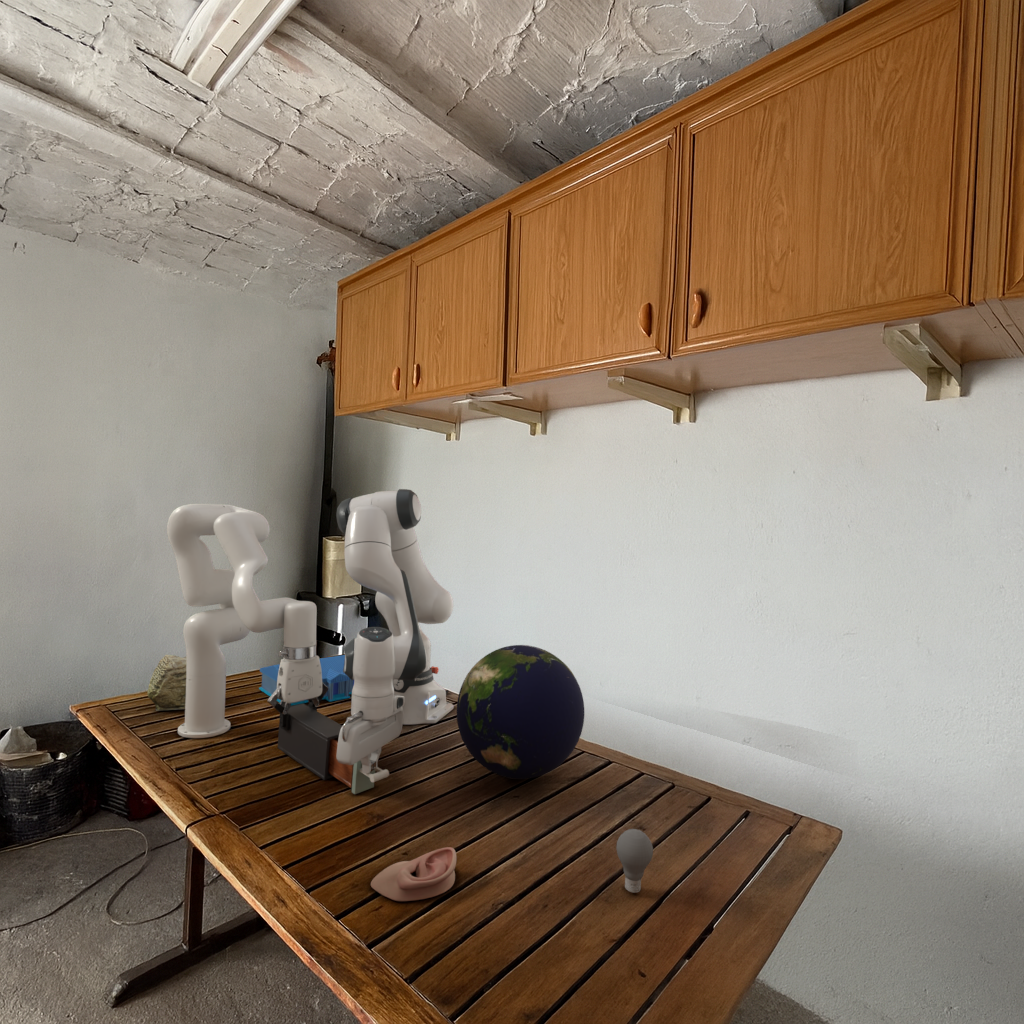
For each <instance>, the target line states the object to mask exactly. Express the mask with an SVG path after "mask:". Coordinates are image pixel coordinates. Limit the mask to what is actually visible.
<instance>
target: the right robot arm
mask: <svg viewBox="0 0 1024 1024" xmlns="http://www.w3.org/2000/svg"><path fill="white" fill-rule="evenodd" d="M421 519H422V504H421V502H420V499H419V497H418V495H417V493H415V491H413V490H412V489H407V488H399V489H398V490H381V491H375V492H373V493H367V494H363V495H359V496H356V497H354V496H352V497H348V498H346V499H344V500H342V501H341V502H340V503H339V504H338V506H337V508H336V522H337V526H338V529H339V531H340V532H341V533H342V534H343V535H344V564H345V565H344V566H345V570H346V573H347V575H348V576H349V577H350V578H351V579H352V580H353V581H354V582H356V583H357V584H359V585H361V586H362V587H365V588H367V589H370V590H372V591H375V592H376V593H375V599H374V601H375V602H374V603H375V608H376V609H377V611H378V612H379V613H380V614H381V615H382V617H383V619H384V621H385V622H386V625H387V627H388V629H387V628H385V627H381V626H369V627H364V628H362V629H360V630H359V631H358V632H357V634H356V637H354V638H352V639H351V640H350V641H349V642H347V644H346V645H344V647H343V651H344V655H345V661H344V668H343V672H344V673H345V674H346V675H347V676H348V677H349V678H350V679H352V680H354V686H353V689H352V694H351V701H350V703H351V705H350V716H348V717H346V720H345V722H344V723H343V725H342V728H341V730H340V733H339V738H338V745H337V755H336V758H337V760H338V762H339V763H341V764H346V765H353V764H355V763H356V762H358V761H361V763H362V772H363V773H367V774H368V773H370V772H371V771H373V770H374V769H376V768H377V767H378V763H379V762H378V761H379V758H380V755H381V753H382V747H384V746H385V745H387V744H388V743H390V742H392V741H393V740H395V739H397V738H398V737H400V735H401V734H402V731H403V725H421V724H436V723H438V722H439V721H440V720H442V719H443V718H444V717H445V716H446V715H448V714H449V713H450V712H451V711H453V710H454V709H455V706H454V704H453V703H451V702H449V701H447V694H448V693H449V689H445V688H444V687H443V686H442V685H441V684H439V682H438V681H436V680H435V679H434V674H435V675H437V674H438V673H439V670H440V669H439V666H434V665H433V666H431V655H432V643H431V640H430V638H429V637H428V636H427V634H425V633H424V631H423V630H422V628H421V625H420V624H424V625H436V624H443V623H445V622H447V621H448V620H449V619H450V618H451V615H452V614H453V611H454V598H453V596H452V594H451V592H449V591H448V590H447V589H446V588H444V587H443V586H442V585H441V584H440V583H439V582H438V581H437V580H436V579H435V577H434V575H432V573H431V572H430V570H429V568H428V566H427V564H426V563H425V562H426V561H425V560H424V558H423V554H422V551H421V548H420V543H419V540H418V536H417V533H416V529H415V527H416V526H417V525H418V524H419V523H420V521H421Z"/></svg>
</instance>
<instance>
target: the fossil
mask: <svg viewBox="0 0 1024 1024" xmlns="http://www.w3.org/2000/svg"><path fill="white" fill-rule="evenodd" d="M186 666H187V657H186V656H183V657H182V656H178V655H175V654H174V655H173V654H165V655H164V656H163V657H162V658H161V659H160V660H159V662H158V663H157V666H156V667H155V669H154V670H153V672H152V675H151V677H150V680H149V684H148V688H147V697H148V699H149V700H150V701H152V703H153V704H154V706H155V711H158V712H159V711H162V712H163V711H177V710H185V701H186Z"/></svg>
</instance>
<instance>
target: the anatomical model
mask: <svg viewBox="0 0 1024 1024" xmlns="http://www.w3.org/2000/svg"><path fill="white" fill-rule="evenodd" d="M457 859H458V857H457V852H456V850H455V849H454V847H450V846H446V847H442V848H438V849H435V850H432V851H428V852H427V853H424V854H422V855H420V856H418V857H416V858H413V859H411V860H404V861H403V860H402V861H399V862H396V863H393V864H391V865H389V866H387V867H385V868H384V869H382V870H381V871H380V872H379V873H377V874H376V875H375V877H373V878H372V880H371V881H370V886H371V888H372V889H373V890H374V891H376V892H377V893H378V894H380V895H381V896H383V897H385V898H388V899H390V900H392V901H396V902H411V901H419V900H425V899H429V898H433V897H437V896H439V895H442V894H444V893H445V892H447V891H448V890H450V889H451V888H452V887H453V886H454V884H455V881H456V873H455V869H456V866H457V862H458V861H457Z"/></svg>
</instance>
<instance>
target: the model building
mask: <svg viewBox="0 0 1024 1024" xmlns="http://www.w3.org/2000/svg"><path fill="white" fill-rule="evenodd" d="M319 659H320V664H321V671H322V683H324V684H325V685H326V686H327V687H328V691H327V692H326V694H325V695H324V697H323V698H322V700H321V701H323V700H325V701H327V702H329V703H330V702H335V701H341V700H346V699H347V700H348V699H350V698H351V695H352V689H353V686H354V680H352V679H350V678H349V677H348V676H347V675H346V674H345V673H344V672H343V668H344V661H345V654H342V655H341V654H340V655H335V656H329V657H328V656H327V657H321V658H320V657H319ZM279 666H280V663H278V664H272V665H268V666H264V667H263V666H262V667H260V668H259V672H260V673H261V686H260V687H258V690H260V691H261V692H262V693H264V694H265V695H267V696H268V697H270V696H271V695H272V694H273V693H274V691H275V690H276V689H277V678H278V671H279ZM277 702H278V703H279V704H280V702H281V700H279V699H277ZM307 703H309V702H308V700H304V701H300V702H295V703H291V705H290V707H291V706H295V705H299V704H307Z"/></svg>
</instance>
